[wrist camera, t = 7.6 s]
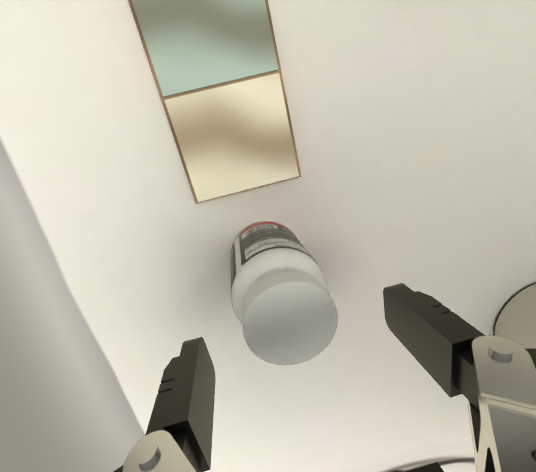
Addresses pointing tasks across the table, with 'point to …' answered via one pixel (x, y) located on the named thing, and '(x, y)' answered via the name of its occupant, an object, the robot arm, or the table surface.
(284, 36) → the table surface
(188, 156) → the board
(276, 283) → the pill bottle
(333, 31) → the table surface
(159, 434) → the robot arm
